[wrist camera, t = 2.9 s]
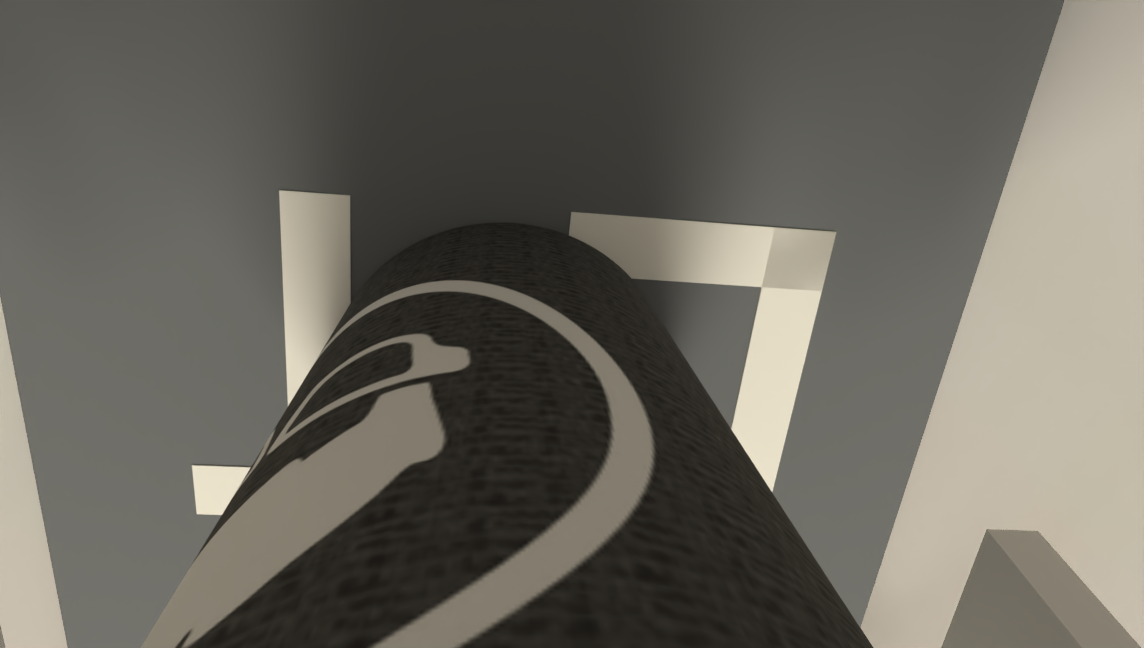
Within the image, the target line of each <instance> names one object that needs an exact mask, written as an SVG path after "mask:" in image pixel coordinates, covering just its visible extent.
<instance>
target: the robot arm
mask: <svg viewBox="0 0 1144 648" xmlns="http://www.w3.org/2000/svg"><path fill="white" fill-rule="evenodd" d="M0 648H5V644H4V640H3V635H2V631H1V627H0ZM942 648H1141V647H1140V646H1139V645H1138V644H1137V642H1136V641H1135V640H1134V639H1133V638H1132V637H1131V636H1130V635H1129V633H1128V632H1127V631H1126V630H1125V629H1124V628H1123V627H1122V625H1121V624H1120V623H1119V622H1118V621H1117V620H1116V619H1115V618H1114V616H1113V615H1112V614H1111V613H1110V612H1109V611H1108V610H1107V609H1106V607H1105V606H1104V605H1103V604H1102V603H1101V602H1100V601H1099V600H1098V598H1097V597H1096V596H1095V595H1094V594H1093V593H1092V592H1091V590H1090V589H1089V588H1088V587H1087V586H1086V585H1085V584H1084V583H1083V581H1082V580H1081V579H1080V578H1079V577H1078V576H1077V575H1076V574H1075V572H1074V571H1073V570H1072V569H1071V568H1070V567H1069V566H1068V564H1067V563H1066V562H1065V561H1064V560H1063V559H1062V558H1061V557H1060V555H1059V554H1058V553H1057V552H1056V551H1055V550H1054V549H1053V548H1052V546H1051V545H1050V544H1049V543H1048V542H1047V541H1046V540H1045V539H1044V537H1043V536H1042V535H1041V534H1040V533H1039V532H1038V531H1020V530H989V529H987V530H986V533H985V535H984V538H983V541H982V543H981V546H980V549H979V551H978V554H977V556H976V559H975V562H974V564H973V567H972V569H971V572H970V575H969V577H968V580H967V582H966V585H965V588H964V590H963V593H962V595H961V598H960V601H959V603H958V606H957V609H956V611H955V614H954V616H953V619H952V622H951V624H950V627H949V629H948V632H947V635H946V637H945V640H944V642H943V645H942Z"/></svg>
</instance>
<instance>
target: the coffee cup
mask: <svg viewBox="0 0 1144 648" xmlns="http://www.w3.org/2000/svg"><path fill="white" fill-rule="evenodd" d="M141 648H873V647H872V645H871V644H870V642H869V640H868V639H867V637H866V636H865V634H864V633H863V631H862V630H861V628H860V627H859V625H858V624H857V622H856V621H855V619H854V617H853V616H852V614H851V613H850V611H849V610H848V608H847V607H846V605H845V604H844V602H843V601H842V599H841V598H840V596H839V594H838V593H837V591H836V590H835V588H834V587H833V585H832V584H831V582H830V581H829V579H828V578H827V576H826V575H825V573H824V571H823V570H822V568H821V567H820V565H819V564H818V562H817V561H816V559H815V558H814V556H813V555H812V553H811V551H810V550H809V548H808V547H807V545H806V544H805V542H804V541H803V539H802V538H801V536H800V535H799V533H798V531H797V530H796V528H795V527H794V525H793V524H792V522H791V521H790V519H789V518H788V516H787V515H786V513H785V511H784V510H783V508H782V507H781V505H780V504H779V502H778V501H777V499H776V498H775V496H774V494H773V493H772V491H771V490H770V488H769V487H768V485H767V484H766V482H765V481H764V479H763V478H762V476H761V474H760V473H759V471H758V470H757V468H756V467H755V465H754V464H753V462H752V461H751V459H750V457H749V456H748V454H747V453H746V451H745V450H744V448H743V447H742V445H741V444H740V442H739V440H738V439H737V437H736V436H735V434H734V433H733V431H732V430H731V428H730V427H729V425H728V423H727V422H726V420H725V419H724V417H723V416H722V414H721V413H720V411H719V410H718V408H717V406H716V405H715V403H714V402H713V400H712V399H711V397H710V396H709V394H708V393H707V391H706V389H705V388H704V386H703V385H702V383H701V382H700V380H699V379H698V377H697V376H696V374H695V372H694V371H693V369H692V368H691V366H690V365H689V363H688V362H687V360H686V358H685V357H684V355H683V354H682V352H681V351H680V349H679V348H678V346H677V344H676V343H675V341H674V340H673V338H672V337H671V335H670V334H669V332H668V331H667V329H666V327H665V326H664V324H663V323H662V321H661V320H660V318H659V317H658V315H657V313H656V312H655V310H654V309H653V307H652V306H651V304H650V303H649V301H648V300H647V298H646V297H645V295H644V294H643V292H642V291H641V290H640V288H639V287H638V286H637V284H636V283H635V282H634V281H633V280H632V279H631V277H630V276H629V275H628V274H627V273H626V272H625V271H624V270H623V269H622V268H621V267H620V266H618V265H617V264H616V263H615V262H614V261H612V260H611V259H610V258H609V257H607V256H606V255H604V254H603V253H602V252H600V251H598V250H597V249H595V248H594V247H592V246H590V245H588V244H586V243H584V242H583V241H580V240H578V239H576V238H574V237H571V236H569V235H566V234H564V233H561V232H558V231H554V230H551V229H547V228H543V227H538V226H533V225H526V224H517V223H485V224H476V225H469V226H464V227H459V228H455V229H451V230H448V231H444V232H441V233H438V234H436V235H433V236H430V237H428V238H426V239H423V240H421V241H419V242H417V243H415V244H413V245H412V246H410V247H408V248H406V249H405V250H403V251H401V252H400V253H398V254H397V255H396V256H394V257H393V258H391V259H390V260H389V261H388V262H386V263H385V264H384V265H383V266H382V267H380V268H379V269H378V270H377V271H376V272H375V273H374V274H373V275H372V276H371V277H370V278H369V279H368V281H367V282H366V283H365V284H364V285H363V287H362V288H361V289H360V290H359V292H358V293H357V295H356V296H355V298H354V299H353V301H352V302H351V304H350V305H349V307H348V308H347V310H346V312H345V313H344V315H343V317H342V318H341V320H340V322H339V323H338V325H337V326H336V328H335V330H334V331H333V333H332V335H331V336H330V338H329V340H328V341H327V343H326V345H325V346H324V348H323V350H322V351H321V353H320V355H319V356H318V358H317V359H316V361H315V363H314V364H313V366H312V368H311V369H310V371H309V373H308V374H307V376H306V378H305V379H304V381H303V383H302V384H301V386H300V387H299V389H298V391H297V392H296V394H295V396H294V397H293V399H292V401H291V402H290V404H289V406H288V407H287V409H286V411H285V412H284V414H283V415H282V417H281V419H280V420H279V422H278V424H277V425H276V427H275V429H274V430H273V432H272V434H271V435H270V437H269V438H268V440H267V442H266V443H265V445H264V447H263V448H262V450H261V452H260V453H259V455H258V457H257V458H256V460H255V461H254V463H253V465H252V466H251V468H250V470H249V471H248V473H247V475H246V476H245V478H244V480H243V481H242V483H241V484H240V486H239V488H238V489H237V491H236V493H235V494H234V496H233V498H232V499H231V501H230V502H229V504H228V506H227V507H226V509H225V511H224V512H223V514H222V516H221V517H220V519H219V521H218V522H217V524H216V525H215V527H214V529H213V530H212V532H211V534H210V535H209V537H208V539H207V540H206V542H205V543H204V545H203V547H202V548H201V550H200V552H199V553H198V555H197V557H196V558H195V560H194V561H193V563H192V565H191V566H190V568H189V570H188V571H187V573H186V575H185V576H184V578H183V579H182V581H181V583H180V584H179V586H178V588H177V589H176V591H175V593H174V594H173V596H172V597H171V599H170V601H169V602H168V604H167V606H166V607H165V609H164V610H163V612H162V614H161V615H160V617H159V619H158V620H157V622H156V624H155V625H154V627H153V628H152V630H151V632H150V633H149V635H148V637H147V638H146V640H145V641H144V643H143V645H142V646H141Z"/></svg>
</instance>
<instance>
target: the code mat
mask: <svg viewBox="0 0 1144 648" xmlns="http://www.w3.org/2000/svg"><path fill="white" fill-rule="evenodd" d="M1063 3H1064V0H0V297H1V302H2V307H3V313H4V318H5V323H6V328H7V333H8V339H9V344H10V349H11V354H12V359H13V365H14V370H15V375H16V380H17V385H18V391H19V396H20V401H21V406H22V411H23V417H24V422H25V427H26V432H27V437H28V443H29V448H30V453H31V458H32V463H33V469H34V474H35V479H36V484H37V489H38V495H39V500H40V505H41V510H42V515H43V521H44V526H45V531H46V536H47V542H48V547H49V552H50V557H51V562H52V568H53V573H54V578H55V583H56V588H57V594H58V599H59V604H60V609H61V614H62V620H63V625H64V630H65V635H66V640H67V646H68V648H141V646H142V645H143V643H144V641H145V640H146V638H147V637H148V635H149V633H150V632H151V630H152V628H153V627H154V625H155V624H156V622H157V620H158V619H159V617H160V615H161V614H162V612H163V610H164V609H165V607H166V606H167V604H168V602H169V601H170V599H171V597H172V596H173V594H174V593H175V591H176V589H177V588H178V586H179V584H180V583H181V581H182V579H183V578H184V576H185V575H186V573H187V571H188V570H189V568H190V566H191V565H192V563H193V561H194V560H195V558H196V557H197V555H198V553H199V552H200V550H201V548H202V547H203V545H204V543H205V542H206V540H207V539H208V537H209V535H210V534H211V532H212V530H213V529H214V527H215V525H216V524H217V522H218V521H219V519H220V517H221V516H222V514H223V512H224V511H225V509H226V507H227V506H228V504H229V502H230V501H231V499H232V498H233V496H234V494H235V493H236V491H237V489H238V488H239V486H240V484H241V483H242V481H243V480H244V478H245V476H246V475H247V473H248V471H249V470H250V468H251V466H252V465H253V463H254V461H255V460H256V458H257V457H258V455H259V453H260V452H261V450H262V448H263V447H264V445H265V443H266V442H267V440H268V438H269V437H270V435H271V434H272V432H273V430H274V429H275V427H276V425H277V424H278V422H279V420H280V419H281V417H282V415H283V414H284V412H285V411H286V409H287V407H288V406H289V404H290V402H291V401H292V399H293V397H294V396H295V394H296V392H297V391H298V389H299V387H300V386H301V384H302V383H303V381H304V379H305V378H306V376H307V374H308V373H309V371H310V369H311V368H312V366H313V364H314V363H315V361H316V359H317V358H318V356H319V355H320V353H321V351H322V350H323V348H324V346H325V345H326V343H327V341H328V340H329V338H330V336H331V335H332V333H333V331H334V330H335V328H336V326H337V325H338V323H339V322H340V320H341V318H342V317H343V315H344V313H345V312H346V310H347V308H348V307H349V305H350V304H351V302H352V301H353V299H354V298H355V296H356V295H357V293H358V292H359V290H360V289H361V288H362V287H363V285H364V284H365V283H366V282H367V281H368V279H369V278H370V277H371V276H372V275H373V274H374V273H375V272H376V271H377V270H378V269H379V268H380V267H382V266H383V265H384V264H385V263H386V262H388V261H389V260H390V259H391V258H393V257H394V256H396V255H397V254H398V253H400V252H401V251H403V250H405V249H406V248H408V247H410V246H412V245H413V244H415V243H417V242H419V241H421V240H423V239H426V238H428V237H430V236H433V235H436V234H438V233H441V232H444V231H448V230H451V229H455V228H459V227H464V226H469V225H476V224H485V223H517V224H526V225H533V226H538V227H543V228H547V229H551V230H554V231H558V232H561V233H564V234H566V235H569V236H571V237H574V238H576V239H578V240H580V241H583V242H584V243H586V244H588V245H590V246H592V247H594V248H595V249H597V250H598V251H600V252H602V253H603V254H604V255H606V256H607V257H609V258H610V259H611V260H612V261H614V262H615V263H616V264H617V265H618V266H620V267H621V268H622V269H623V270H624V271H625V272H626V273H627V274H628V275H629V276H630V277H631V279H632V280H633V281H634V282H635V283H636V284H637V286H638V287H639V288H640V290H641V291H642V292H643V294H644V295H645V297H646V298H647V300H648V301H649V303H650V304H651V306H652V307H653V309H654V310H655V312H656V313H657V315H658V317H659V318H660V320H661V321H662V323H663V324H664V326H665V327H666V329H667V331H668V332H669V334H670V335H671V337H672V338H673V340H674V341H675V343H676V344H677V346H678V348H679V349H680V351H681V352H682V354H683V355H684V357H685V358H686V360H687V362H688V363H689V365H690V366H691V368H692V369H693V371H694V372H695V374H696V376H697V377H698V379H699V380H700V382H701V383H702V385H703V386H704V388H705V389H706V391H707V393H708V394H709V396H710V397H711V399H712V400H713V402H714V403H715V405H716V406H717V408H718V410H719V411H720V413H721V414H722V416H723V417H724V419H725V420H726V422H727V423H728V425H729V427H730V428H731V430H732V431H733V433H734V434H735V436H736V437H737V439H738V440H739V442H740V444H741V445H742V447H743V448H744V450H745V451H746V453H747V454H748V456H749V457H750V459H751V461H752V462H753V464H754V465H755V467H756V468H757V470H758V471H759V473H760V474H761V476H762V478H763V479H764V481H765V482H766V484H767V485H768V487H769V488H770V490H771V491H772V493H773V494H774V496H775V498H776V499H777V501H778V502H779V504H780V505H781V507H782V508H783V510H784V511H785V513H786V515H787V516H788V518H789V519H790V521H791V522H792V524H793V525H794V527H795V528H796V530H797V531H798V533H799V535H800V536H801V538H802V539H803V541H804V542H805V544H806V545H807V547H808V548H809V550H810V551H811V553H812V555H813V556H814V558H815V559H816V561H817V562H818V564H819V565H820V567H821V568H822V570H823V571H824V573H825V575H826V576H827V578H828V579H829V581H830V582H831V584H832V585H833V587H834V588H835V590H836V591H837V593H838V594H839V596H840V598H841V599H842V601H843V602H844V604H845V605H846V607H847V608H848V610H849V611H850V613H851V614H852V616H853V617H854V619H855V621H856V622H857V624H858V625H859V627H861V624H862V620H863V617H864V614H865V611H866V608H867V605H868V602H869V599H870V596H871V593H872V590H873V587H874V584H875V581H876V577H877V574H878V571H879V568H880V565H881V562H882V559H883V556H884V553H885V550H886V547H887V544H888V541H889V537H890V534H891V531H892V528H893V525H894V522H895V519H896V516H897V513H898V510H899V507H900V504H901V501H902V498H903V494H904V491H905V488H906V485H907V482H908V479H909V476H910V473H911V470H912V467H913V464H914V461H915V458H916V455H917V451H918V448H919V445H920V442H921V439H922V436H923V433H924V430H925V427H926V424H927V421H928V418H929V415H930V412H931V408H932V405H933V402H934V399H935V396H936V393H937V390H938V387H939V384H940V381H941V378H942V375H943V372H944V369H945V365H946V362H947V359H948V356H949V353H950V350H951V347H952V344H953V341H954V338H955V335H956V332H957V329H958V326H959V322H960V319H961V316H962V313H963V310H964V307H965V304H966V301H967V298H968V295H969V292H970V289H971V286H972V282H973V279H974V276H975V273H976V270H977V267H978V264H979V261H980V258H981V255H982V252H983V249H984V246H985V243H986V239H987V236H988V233H989V230H990V227H991V224H992V221H993V218H994V215H995V212H996V209H997V206H998V203H999V200H1000V196H1001V193H1002V190H1003V187H1004V184H1005V181H1006V178H1007V175H1008V172H1009V169H1010V166H1011V163H1012V160H1013V157H1014V153H1015V150H1016V147H1017V144H1018V141H1019V138H1020V135H1021V132H1022V129H1023V126H1024V123H1025V120H1026V117H1027V114H1028V110H1029V107H1030V104H1031V101H1032V98H1033V95H1034V92H1035V89H1036V86H1037V83H1038V80H1039V77H1040V74H1041V71H1042V67H1043V64H1044V61H1045V58H1046V55H1047V52H1048V49H1049V46H1050V43H1051V40H1052V37H1053V34H1054V31H1055V27H1056V24H1057V21H1058V18H1059V15H1060V12H1061V9H1062V6H1063Z"/></svg>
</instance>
